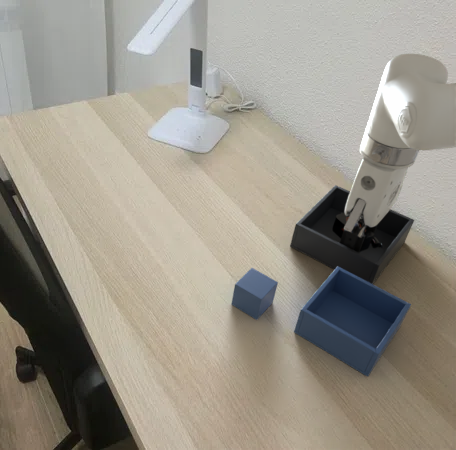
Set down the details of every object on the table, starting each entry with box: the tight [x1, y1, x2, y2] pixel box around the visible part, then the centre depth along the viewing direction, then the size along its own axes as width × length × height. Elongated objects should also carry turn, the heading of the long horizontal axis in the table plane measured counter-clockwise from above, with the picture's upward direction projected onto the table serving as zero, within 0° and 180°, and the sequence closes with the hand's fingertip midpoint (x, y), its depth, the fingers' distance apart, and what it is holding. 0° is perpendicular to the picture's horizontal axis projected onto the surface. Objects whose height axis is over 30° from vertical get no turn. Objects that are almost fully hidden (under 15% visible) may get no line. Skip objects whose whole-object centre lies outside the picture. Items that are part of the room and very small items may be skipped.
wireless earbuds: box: [332, 212, 383, 252], centre depth 88 cm, size 5×7×3 cm, turn 27°
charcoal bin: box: [289, 184, 415, 285], centre depth 91 cm, size 14×14×5 cm
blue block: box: [231, 267, 279, 321], centre depth 81 cm, size 4×4×4 cm
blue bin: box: [293, 266, 412, 377], centre depth 78 cm, size 11×11×5 cm
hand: (355, 241), depth 88 cm, fingers closed on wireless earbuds, 4 cm apart
